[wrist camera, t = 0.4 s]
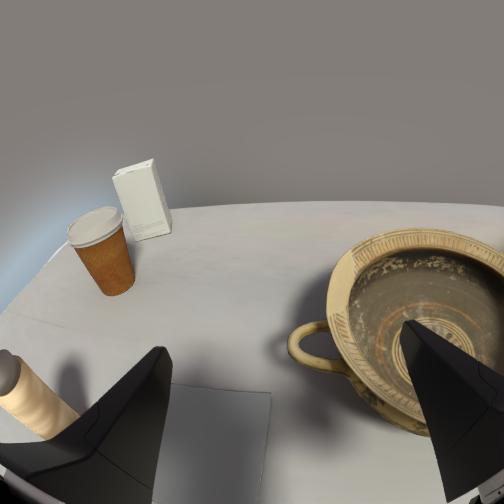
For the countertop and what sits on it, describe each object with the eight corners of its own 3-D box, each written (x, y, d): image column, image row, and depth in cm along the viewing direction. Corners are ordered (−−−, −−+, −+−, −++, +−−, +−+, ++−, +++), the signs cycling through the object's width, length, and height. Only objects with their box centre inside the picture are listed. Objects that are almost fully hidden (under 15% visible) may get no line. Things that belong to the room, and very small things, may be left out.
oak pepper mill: (85, 463, 17) (-5, 400, 10) (54, 445, 18) (-27, 380, 11) (99, 425, 21) (24, 352, 14) (68, 412, 22) (-2, 340, 15)
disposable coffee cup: (97, 311, 37) (62, 244, 30) (91, 280, 44) (65, 221, 37) (150, 286, 41) (124, 216, 34) (137, 260, 48) (116, 199, 41)
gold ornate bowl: (473, 278, 32) (492, 220, 27) (546, 404, 12) (596, 347, 7) (282, 305, 34) (277, 235, 29) (293, 504, 14) (296, 494, 9)
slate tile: (254, 522, 13) (253, 522, 13) (113, 485, 16) (109, 484, 15) (271, 395, 24) (271, 393, 24) (150, 382, 26) (148, 379, 26)
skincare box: (172, 222, 59) (156, 157, 51) (171, 234, 54) (152, 163, 46) (137, 230, 58) (118, 167, 50) (132, 243, 53) (110, 175, 45)
